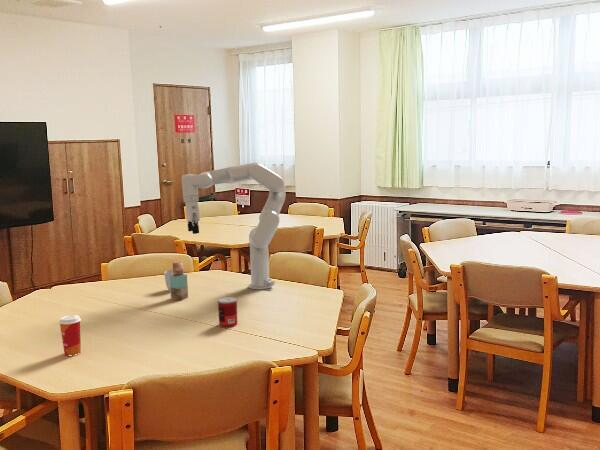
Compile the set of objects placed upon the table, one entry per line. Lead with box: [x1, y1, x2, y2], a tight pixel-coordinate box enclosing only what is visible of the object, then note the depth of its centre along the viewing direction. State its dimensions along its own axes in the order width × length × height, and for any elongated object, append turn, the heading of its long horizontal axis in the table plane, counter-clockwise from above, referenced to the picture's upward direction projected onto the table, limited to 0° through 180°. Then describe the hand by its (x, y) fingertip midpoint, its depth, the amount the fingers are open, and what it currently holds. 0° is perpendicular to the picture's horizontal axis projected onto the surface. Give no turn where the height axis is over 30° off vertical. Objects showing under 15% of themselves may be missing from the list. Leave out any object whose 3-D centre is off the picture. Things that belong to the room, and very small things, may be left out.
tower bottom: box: [170, 287, 189, 302], centre depth 299 cm, size 6×6×6 cm
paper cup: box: [58, 314, 82, 356], centre depth 225 cm, size 8×8×14 cm
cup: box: [163, 269, 173, 292], centre depth 315 cm, size 8×8×10 cm
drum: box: [172, 261, 185, 276], centre depth 297 cm, size 5×5×6 cm
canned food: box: [217, 296, 238, 328], centre depth 256 cm, size 8×8×11 cm
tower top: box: [170, 273, 189, 289], centre depth 298 cm, size 6×6×6 cm
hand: (193, 232), depth 308 cm, fingers open, 9 cm apart
